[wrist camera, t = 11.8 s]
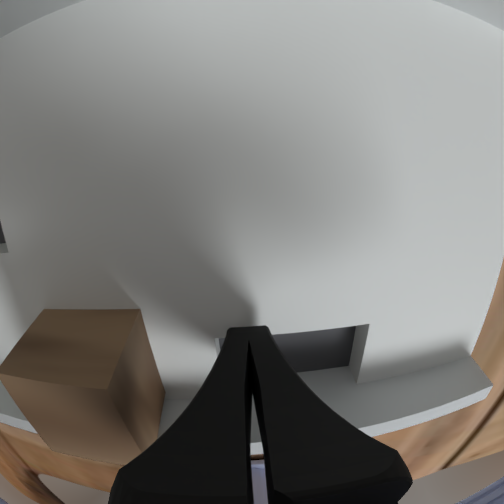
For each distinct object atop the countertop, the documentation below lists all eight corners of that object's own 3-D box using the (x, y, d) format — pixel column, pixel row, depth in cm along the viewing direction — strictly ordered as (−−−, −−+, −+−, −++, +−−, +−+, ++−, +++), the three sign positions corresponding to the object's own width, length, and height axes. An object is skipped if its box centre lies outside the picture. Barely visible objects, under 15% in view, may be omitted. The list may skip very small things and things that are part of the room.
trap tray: (452, 353, 15) (485, 398, 11) (-38, 361, 14) (-63, 395, 10) (488, 20, 8) (547, 10, 4) (-104, 114, 7) (-145, 125, 3)
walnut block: (165, 392, 12) (151, 468, 9) (79, 386, 12) (52, 450, 9) (140, 308, 11) (106, 389, 7) (43, 308, 11) (-5, 372, 7)
